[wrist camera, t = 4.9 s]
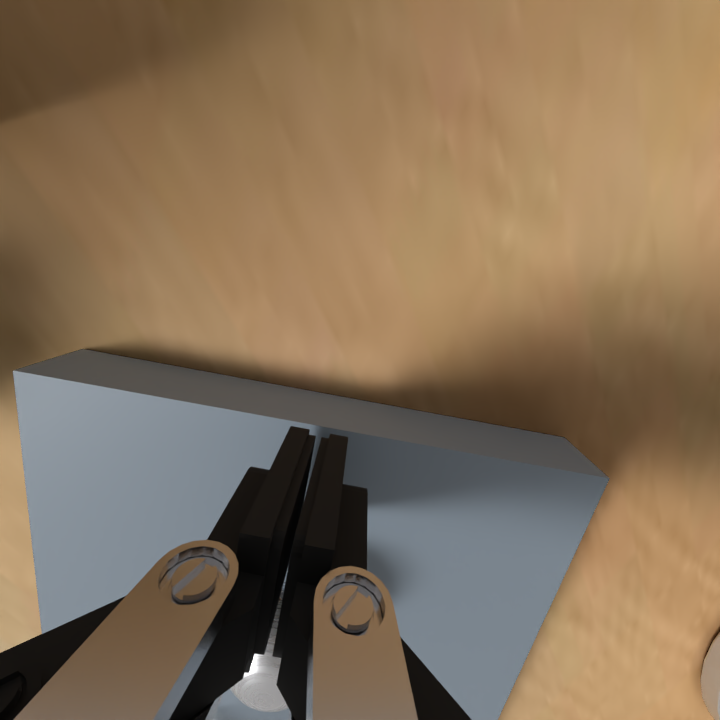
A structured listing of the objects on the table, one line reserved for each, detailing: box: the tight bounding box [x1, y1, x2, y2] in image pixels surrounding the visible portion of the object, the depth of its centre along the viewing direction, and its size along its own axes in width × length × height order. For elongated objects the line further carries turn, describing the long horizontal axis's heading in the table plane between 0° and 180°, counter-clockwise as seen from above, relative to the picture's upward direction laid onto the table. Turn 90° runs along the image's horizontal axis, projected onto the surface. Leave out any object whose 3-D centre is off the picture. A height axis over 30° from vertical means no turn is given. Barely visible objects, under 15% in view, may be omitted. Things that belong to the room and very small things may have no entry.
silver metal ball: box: [230, 565, 289, 712], centre depth 10 cm, size 3×3×3 cm
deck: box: [13, 349, 610, 720], centre depth 15 cm, size 24×18×2 cm
